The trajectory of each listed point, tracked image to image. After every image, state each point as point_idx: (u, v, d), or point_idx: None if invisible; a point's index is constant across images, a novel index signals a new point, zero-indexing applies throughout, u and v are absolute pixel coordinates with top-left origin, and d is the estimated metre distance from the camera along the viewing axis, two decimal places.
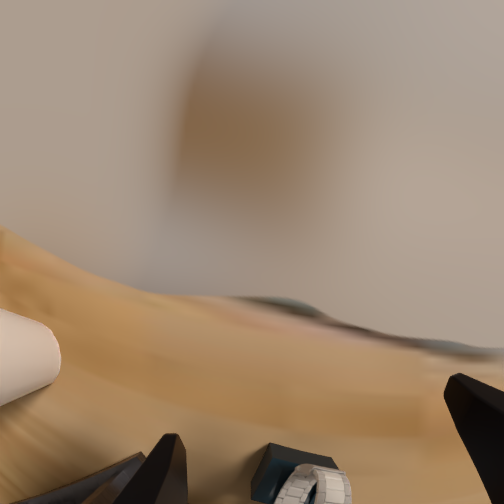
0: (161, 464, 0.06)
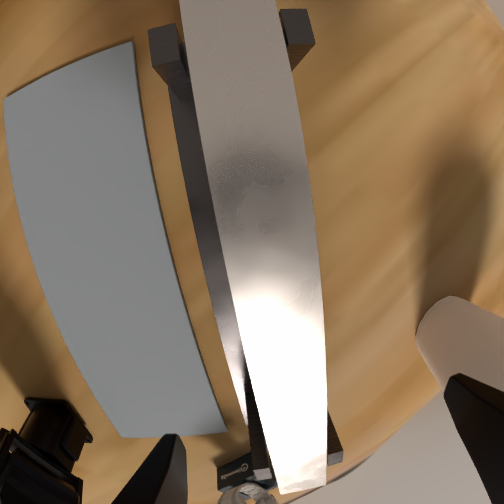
0: (161, 464, 0.06)
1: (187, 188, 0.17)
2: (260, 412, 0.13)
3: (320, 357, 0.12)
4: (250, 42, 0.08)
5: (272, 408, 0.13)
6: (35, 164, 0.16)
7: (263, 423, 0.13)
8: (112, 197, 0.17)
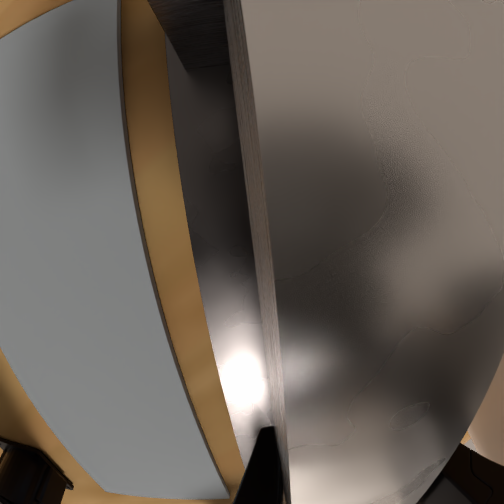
0: (271, 458, 0.06)
1: (190, 221, 0.10)
2: None
3: None
4: None
5: None
6: None
7: None
8: (72, 225, 0.10)
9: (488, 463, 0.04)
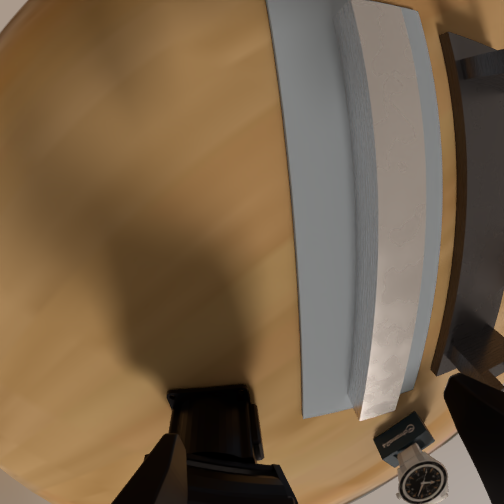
0: (161, 464, 0.06)
1: (467, 148, 0.16)
2: (375, 315, 0.17)
3: (420, 266, 0.16)
4: (396, 54, 0.12)
5: (383, 312, 0.17)
6: (322, 76, 0.15)
7: (374, 327, 0.17)
8: None
9: None
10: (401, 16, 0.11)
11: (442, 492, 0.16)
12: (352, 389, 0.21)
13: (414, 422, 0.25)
